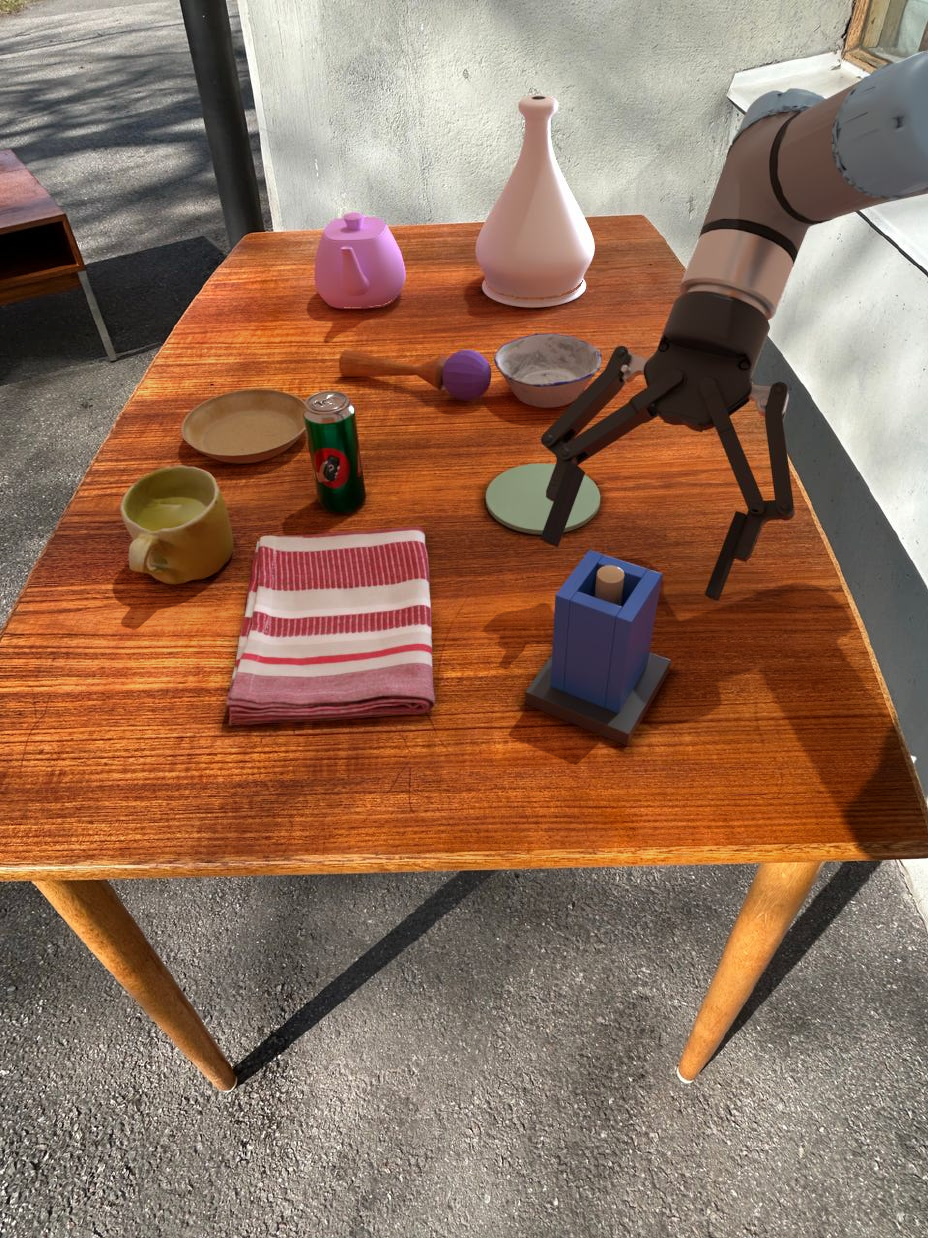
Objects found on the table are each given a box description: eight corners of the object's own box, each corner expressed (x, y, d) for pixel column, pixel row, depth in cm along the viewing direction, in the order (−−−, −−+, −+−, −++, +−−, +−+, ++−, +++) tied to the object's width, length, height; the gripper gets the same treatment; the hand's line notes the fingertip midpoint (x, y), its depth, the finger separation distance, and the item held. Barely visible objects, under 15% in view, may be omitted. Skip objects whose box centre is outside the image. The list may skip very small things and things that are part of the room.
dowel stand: (571, 636, 77) (580, 523, 68) (669, 672, 73) (691, 557, 65) (524, 704, 71) (527, 590, 63) (627, 746, 68) (645, 632, 59)
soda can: (374, 505, 92) (362, 404, 83) (331, 522, 90) (314, 420, 82) (353, 483, 95) (339, 383, 87) (311, 498, 93) (292, 397, 85)
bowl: (561, 357, 114) (563, 322, 111) (619, 399, 106) (623, 363, 103) (475, 383, 110) (475, 347, 107) (529, 429, 102) (530, 392, 98)
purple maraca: (355, 333, 112) (498, 346, 105) (359, 379, 115) (498, 394, 108) (331, 345, 108) (479, 359, 101) (336, 392, 111) (480, 409, 104)
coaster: (611, 478, 94) (612, 473, 94) (583, 544, 86) (583, 540, 86) (506, 459, 97) (506, 455, 97) (469, 521, 89) (469, 517, 89)
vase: (609, 300, 126) (626, 106, 109) (495, 317, 124) (493, 120, 106) (568, 257, 139) (577, 76, 122) (463, 271, 136) (457, 88, 119)
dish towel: (227, 730, 70) (220, 709, 68) (260, 548, 87) (255, 527, 85) (436, 717, 70) (434, 695, 69) (428, 538, 87) (426, 517, 86)
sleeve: (581, 640, 74) (589, 549, 67) (647, 665, 72) (662, 573, 65) (549, 686, 70) (555, 594, 64) (618, 714, 68) (631, 622, 61)
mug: (171, 497, 91) (158, 435, 82) (256, 542, 90) (252, 484, 81) (95, 583, 85) (72, 526, 76) (185, 632, 84) (172, 580, 75)
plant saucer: (300, 397, 109) (297, 378, 107) (325, 458, 99) (322, 438, 97) (181, 420, 106) (175, 401, 104) (193, 486, 95) (187, 465, 94)
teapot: (325, 274, 137) (314, 194, 129) (409, 271, 136) (404, 192, 128) (308, 331, 122) (295, 246, 114) (403, 328, 122) (396, 242, 114)
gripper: (891, 361, 65) (789, 627, 66) (587, 298, 75) (503, 530, 76) (899, 322, 58) (785, 618, 60) (563, 257, 68) (471, 514, 69)
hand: (626, 570), depth 68 cm, fingers open, 13 cm apart
